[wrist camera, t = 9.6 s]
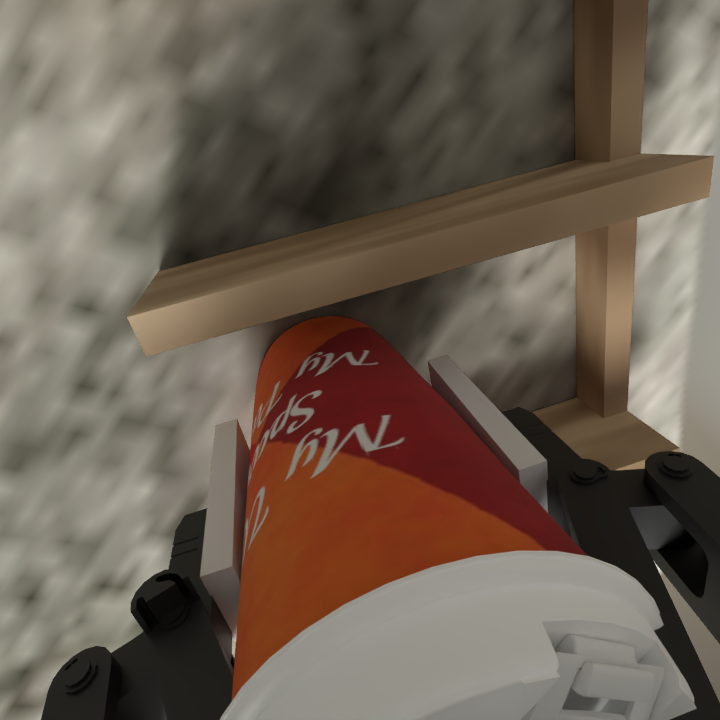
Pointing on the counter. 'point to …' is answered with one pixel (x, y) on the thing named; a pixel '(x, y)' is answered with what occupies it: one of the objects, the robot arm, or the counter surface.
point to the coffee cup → (417, 563)
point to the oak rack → (484, 243)
